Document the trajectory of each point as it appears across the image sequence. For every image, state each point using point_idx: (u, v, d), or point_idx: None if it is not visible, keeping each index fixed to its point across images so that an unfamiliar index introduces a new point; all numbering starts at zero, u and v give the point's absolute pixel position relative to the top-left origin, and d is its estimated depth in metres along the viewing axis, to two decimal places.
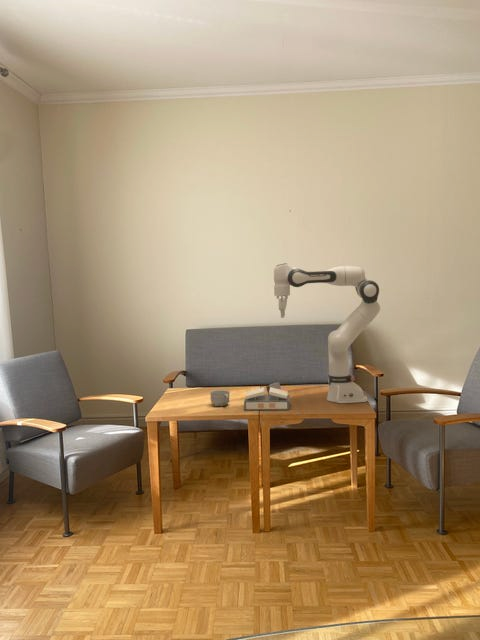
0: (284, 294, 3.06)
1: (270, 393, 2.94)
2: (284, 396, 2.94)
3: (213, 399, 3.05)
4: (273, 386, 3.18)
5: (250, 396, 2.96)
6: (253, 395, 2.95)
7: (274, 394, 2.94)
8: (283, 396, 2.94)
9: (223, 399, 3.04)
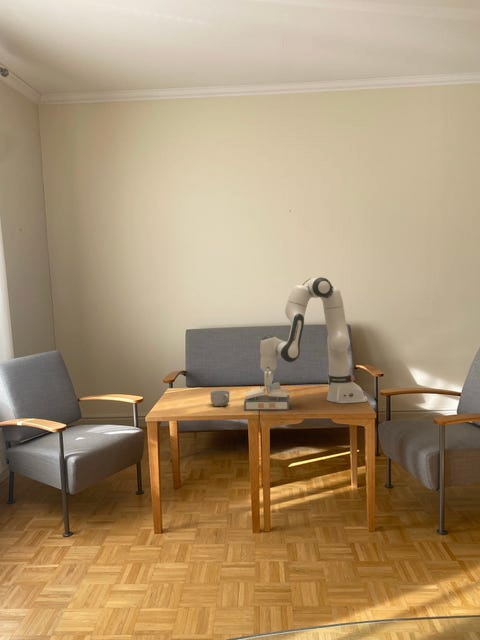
0: (270, 368, 2.94)
1: (270, 394, 2.94)
2: (284, 395, 2.94)
3: (213, 399, 3.05)
4: (273, 386, 3.18)
5: (250, 396, 2.96)
6: (253, 395, 2.95)
7: (274, 395, 2.94)
8: (283, 395, 2.94)
9: (223, 399, 3.04)
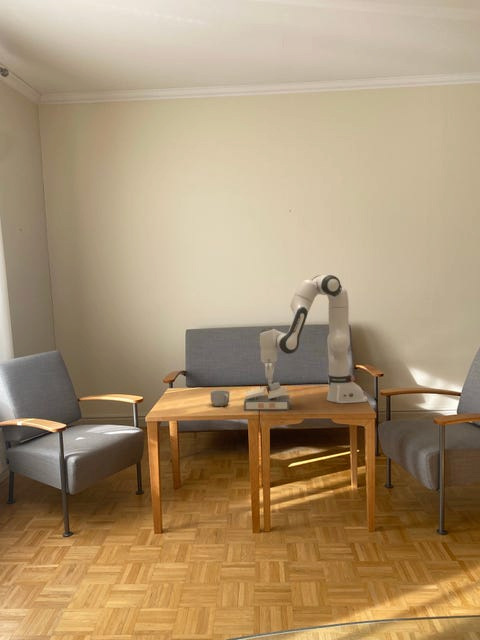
0: (271, 361, 2.94)
1: (270, 397, 2.94)
2: (283, 393, 2.93)
3: (213, 399, 3.05)
4: (273, 386, 3.18)
5: (250, 396, 2.96)
6: (253, 395, 2.95)
7: (274, 396, 2.94)
8: (282, 393, 2.94)
9: (223, 399, 3.04)
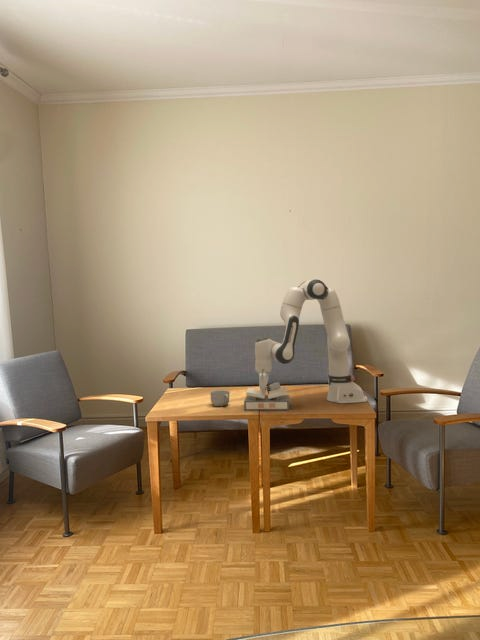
0: (265, 370, 2.95)
1: (270, 397, 2.94)
2: (283, 393, 2.93)
3: (213, 399, 3.05)
4: (273, 386, 3.18)
5: (250, 394, 2.95)
6: (254, 394, 2.95)
7: (274, 396, 2.94)
8: (282, 393, 2.94)
9: (223, 399, 3.04)
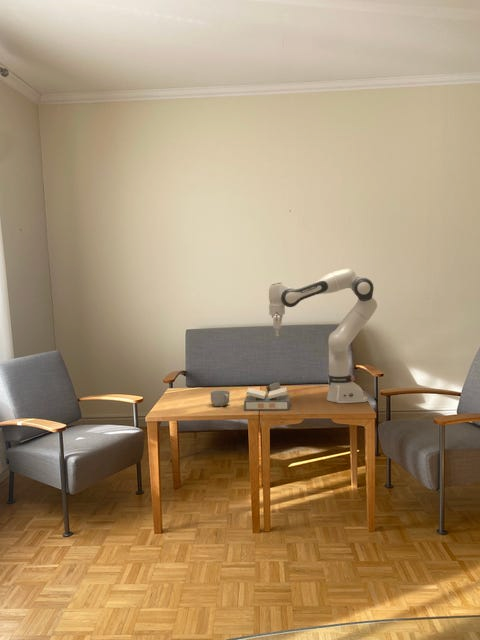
0: (279, 313, 3.09)
1: (270, 397, 2.94)
2: (283, 393, 2.93)
3: (213, 399, 3.05)
4: (273, 386, 3.18)
5: (251, 394, 2.95)
6: (254, 394, 2.95)
7: (274, 396, 2.94)
8: (282, 393, 2.94)
9: (223, 399, 3.04)
